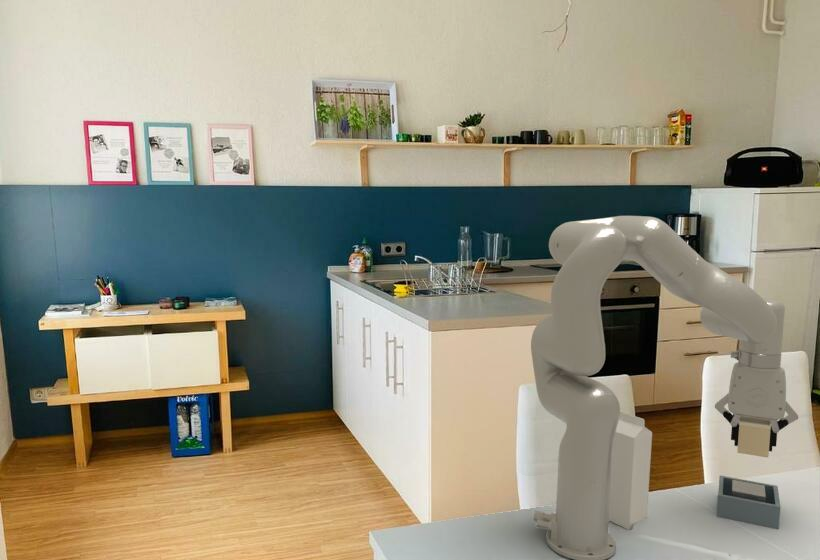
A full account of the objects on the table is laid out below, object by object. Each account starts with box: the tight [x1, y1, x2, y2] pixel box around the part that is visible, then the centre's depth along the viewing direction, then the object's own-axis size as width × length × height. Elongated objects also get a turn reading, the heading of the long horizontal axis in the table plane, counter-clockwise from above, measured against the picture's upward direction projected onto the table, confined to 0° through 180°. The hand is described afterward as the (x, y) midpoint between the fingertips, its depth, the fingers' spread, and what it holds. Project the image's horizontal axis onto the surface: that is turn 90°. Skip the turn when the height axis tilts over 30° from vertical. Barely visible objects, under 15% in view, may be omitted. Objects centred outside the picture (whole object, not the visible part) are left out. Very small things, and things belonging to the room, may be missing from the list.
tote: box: [716, 474, 781, 530], centre depth 135 cm, size 11×11×6 cm
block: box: [731, 480, 766, 503], centre depth 135 cm, size 6×6×5 cm
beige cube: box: [736, 416, 771, 458], centre depth 133 cm, size 6×6×6 cm
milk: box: [608, 411, 653, 531], centre depth 131 cm, size 6×6×22 cm
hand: (752, 445), depth 133 cm, fingers closed on beige cube, 5 cm apart
